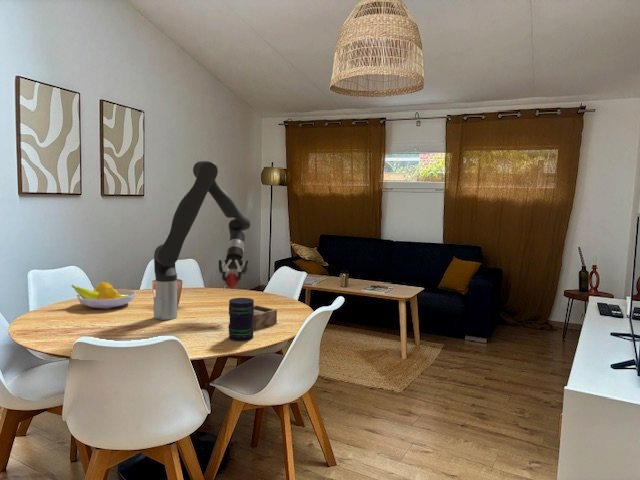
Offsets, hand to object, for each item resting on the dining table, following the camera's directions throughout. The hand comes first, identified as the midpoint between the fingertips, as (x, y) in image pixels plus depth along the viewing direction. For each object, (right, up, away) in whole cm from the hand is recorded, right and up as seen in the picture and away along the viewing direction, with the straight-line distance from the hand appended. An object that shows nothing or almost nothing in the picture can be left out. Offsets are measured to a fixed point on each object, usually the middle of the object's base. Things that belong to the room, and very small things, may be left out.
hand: (231, 280), depth 206 cm
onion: (0, -4, +2) cm, 5 cm away
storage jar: (+8, -21, -24) cm, 33 cm away
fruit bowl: (-67, -15, +22) cm, 72 cm away
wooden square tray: (+11, -19, -3) cm, 23 cm away
